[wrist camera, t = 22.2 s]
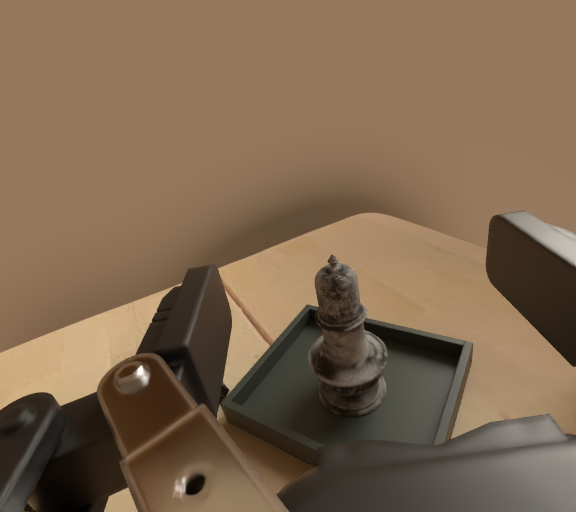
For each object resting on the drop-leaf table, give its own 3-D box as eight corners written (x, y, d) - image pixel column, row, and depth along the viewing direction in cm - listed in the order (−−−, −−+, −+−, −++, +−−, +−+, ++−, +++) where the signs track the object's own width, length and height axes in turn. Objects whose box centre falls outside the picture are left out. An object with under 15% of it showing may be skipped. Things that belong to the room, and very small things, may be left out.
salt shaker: (393, 364, 30) (384, 232, 24) (386, 427, 25) (374, 282, 19) (324, 357, 32) (301, 235, 26) (305, 414, 27) (273, 279, 21)
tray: (226, 421, 28) (219, 403, 27) (310, 319, 37) (307, 304, 37) (426, 524, 20) (426, 504, 19) (471, 361, 29) (473, 342, 28)
